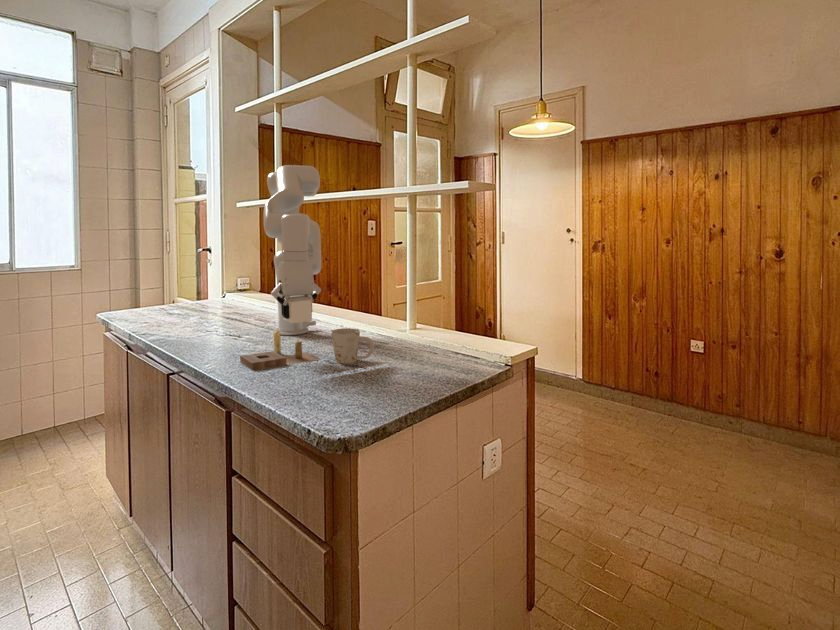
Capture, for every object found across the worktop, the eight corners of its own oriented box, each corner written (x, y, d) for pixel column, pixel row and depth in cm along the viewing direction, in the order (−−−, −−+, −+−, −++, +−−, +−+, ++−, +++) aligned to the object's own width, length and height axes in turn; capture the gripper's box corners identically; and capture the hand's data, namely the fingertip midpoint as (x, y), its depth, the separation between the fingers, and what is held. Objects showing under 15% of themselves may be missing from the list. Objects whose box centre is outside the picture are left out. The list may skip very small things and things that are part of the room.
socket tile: (273, 360, 157) (273, 351, 157) (286, 367, 149) (286, 357, 149) (240, 365, 151) (240, 355, 151) (252, 373, 143) (252, 363, 143)
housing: (302, 317, 160) (302, 294, 158) (312, 320, 155) (311, 297, 153) (283, 319, 156) (282, 296, 155) (291, 323, 151) (291, 299, 150)
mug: (333, 360, 158) (332, 328, 157) (374, 359, 159) (374, 328, 158) (330, 367, 150) (330, 334, 148) (374, 367, 151) (374, 333, 149)
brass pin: (279, 355, 164) (278, 330, 162) (282, 356, 162) (281, 331, 161) (273, 356, 162) (272, 331, 161) (276, 357, 161) (275, 332, 159)
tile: (307, 355, 164) (306, 337, 163) (321, 362, 156) (320, 342, 155) (276, 360, 158) (275, 341, 157) (290, 367, 150) (289, 347, 149)
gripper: (316, 254, 160) (318, 311, 163) (262, 257, 149) (264, 317, 153) (328, 256, 154) (329, 315, 157) (271, 259, 144) (274, 322, 147)
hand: (297, 316), depth 155 cm, fingers closed on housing, 6 cm apart
